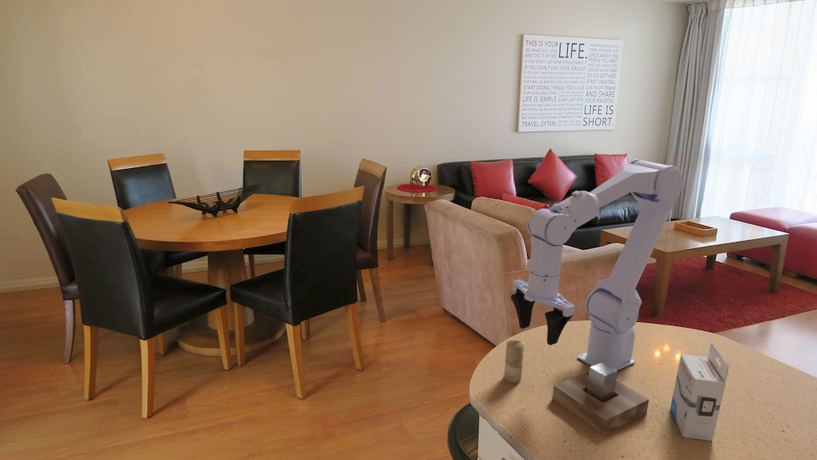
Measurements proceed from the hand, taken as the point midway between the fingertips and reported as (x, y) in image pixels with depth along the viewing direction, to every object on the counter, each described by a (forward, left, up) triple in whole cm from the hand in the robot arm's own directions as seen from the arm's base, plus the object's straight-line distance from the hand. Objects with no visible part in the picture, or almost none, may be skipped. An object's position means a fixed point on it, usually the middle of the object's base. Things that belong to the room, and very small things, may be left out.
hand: (537, 335), depth 104 cm
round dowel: (+4, -2, -10) cm, 11 cm away
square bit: (-4, +13, -10) cm, 17 cm away
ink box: (-14, +25, -10) cm, 30 cm away
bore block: (-4, +13, -10) cm, 17 cm away
